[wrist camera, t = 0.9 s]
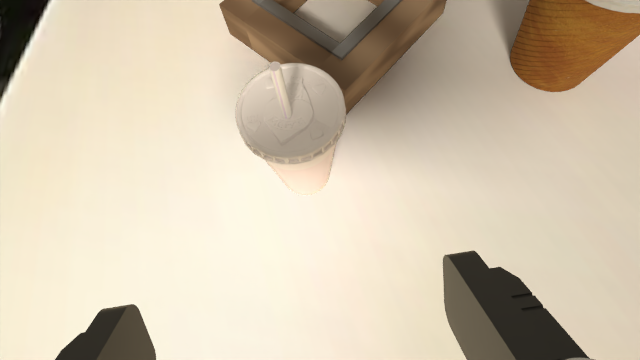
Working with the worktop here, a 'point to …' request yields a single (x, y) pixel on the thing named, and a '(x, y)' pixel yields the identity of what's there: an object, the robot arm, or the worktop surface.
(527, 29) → the disposable coffee cup
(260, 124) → the smoothie
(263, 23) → the socket block
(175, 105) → the worktop surface
